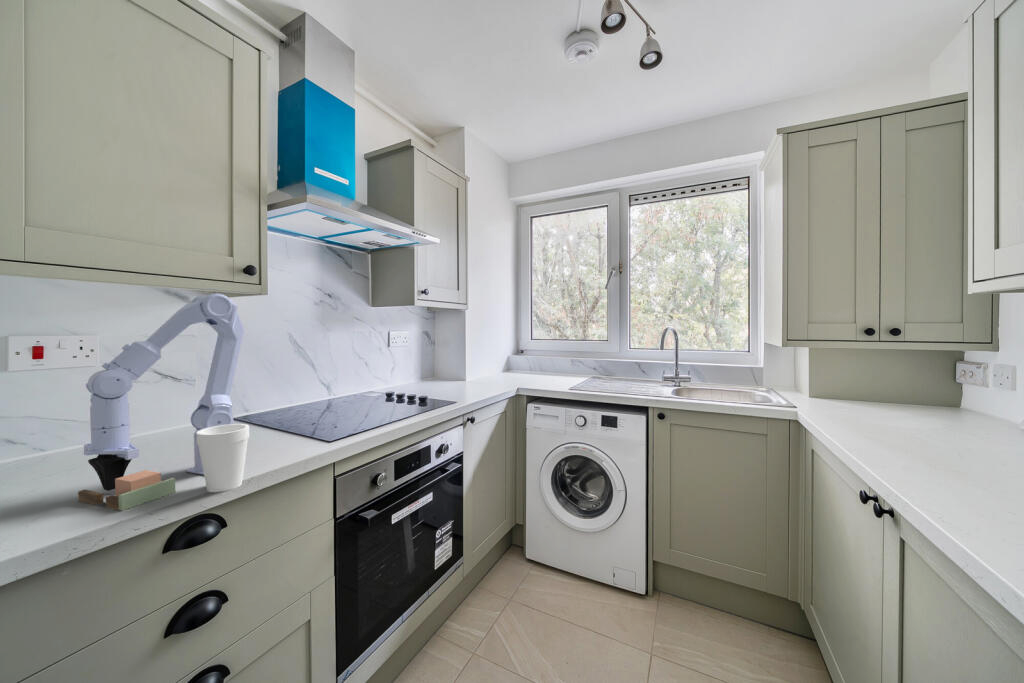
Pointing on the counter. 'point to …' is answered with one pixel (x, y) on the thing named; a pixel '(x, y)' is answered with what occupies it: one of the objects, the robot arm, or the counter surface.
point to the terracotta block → (136, 481)
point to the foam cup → (223, 455)
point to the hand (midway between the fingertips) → (112, 488)
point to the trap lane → (129, 495)
